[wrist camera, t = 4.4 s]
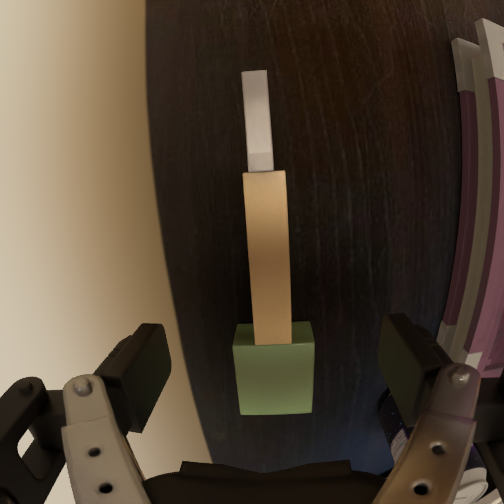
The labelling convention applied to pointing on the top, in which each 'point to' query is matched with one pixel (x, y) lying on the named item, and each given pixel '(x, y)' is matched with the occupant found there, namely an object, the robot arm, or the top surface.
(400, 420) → the beverage can
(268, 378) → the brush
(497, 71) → the book
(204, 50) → the top surface
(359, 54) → the top surface
